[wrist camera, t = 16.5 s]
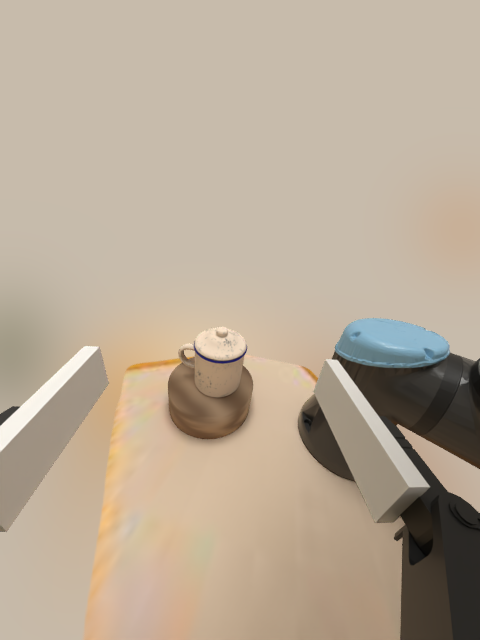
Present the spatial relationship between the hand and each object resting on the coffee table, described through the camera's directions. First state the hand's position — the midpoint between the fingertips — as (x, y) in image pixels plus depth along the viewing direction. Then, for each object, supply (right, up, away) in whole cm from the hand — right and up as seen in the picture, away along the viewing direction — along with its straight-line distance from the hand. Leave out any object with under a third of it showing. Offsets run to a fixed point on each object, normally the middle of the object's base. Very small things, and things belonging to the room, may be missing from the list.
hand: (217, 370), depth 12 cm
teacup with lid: (-4, -8, +27) cm, 29 cm away
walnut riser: (-5, -14, +30) cm, 33 cm away
